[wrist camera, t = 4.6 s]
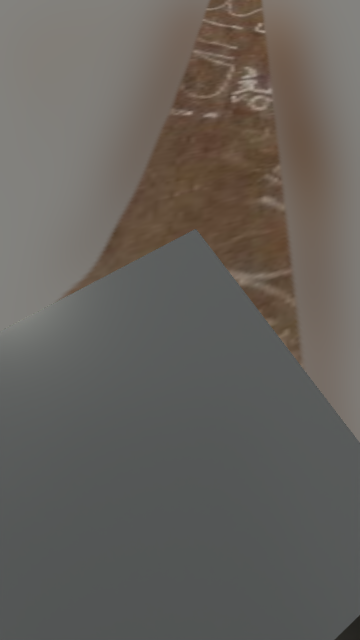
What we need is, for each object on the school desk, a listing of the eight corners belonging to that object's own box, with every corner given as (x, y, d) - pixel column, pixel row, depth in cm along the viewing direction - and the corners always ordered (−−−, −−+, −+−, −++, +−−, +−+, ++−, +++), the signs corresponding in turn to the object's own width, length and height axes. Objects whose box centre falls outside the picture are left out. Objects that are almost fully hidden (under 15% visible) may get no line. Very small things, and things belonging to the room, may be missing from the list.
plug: (216, 440, 14) (435, 541, 2) (153, 485, 13) (20, 947, 2) (177, 377, 15) (195, 228, 3) (116, 416, 14) (-134, 401, 3)
